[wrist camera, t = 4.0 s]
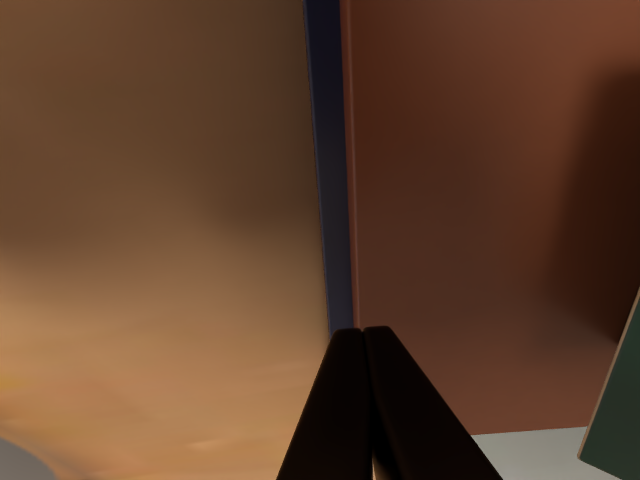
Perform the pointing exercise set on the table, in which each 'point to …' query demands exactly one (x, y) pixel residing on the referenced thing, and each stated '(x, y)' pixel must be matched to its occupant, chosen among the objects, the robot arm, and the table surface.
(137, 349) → the table surface
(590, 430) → the tea box
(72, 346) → the table surface
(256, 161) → the table surface
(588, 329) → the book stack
